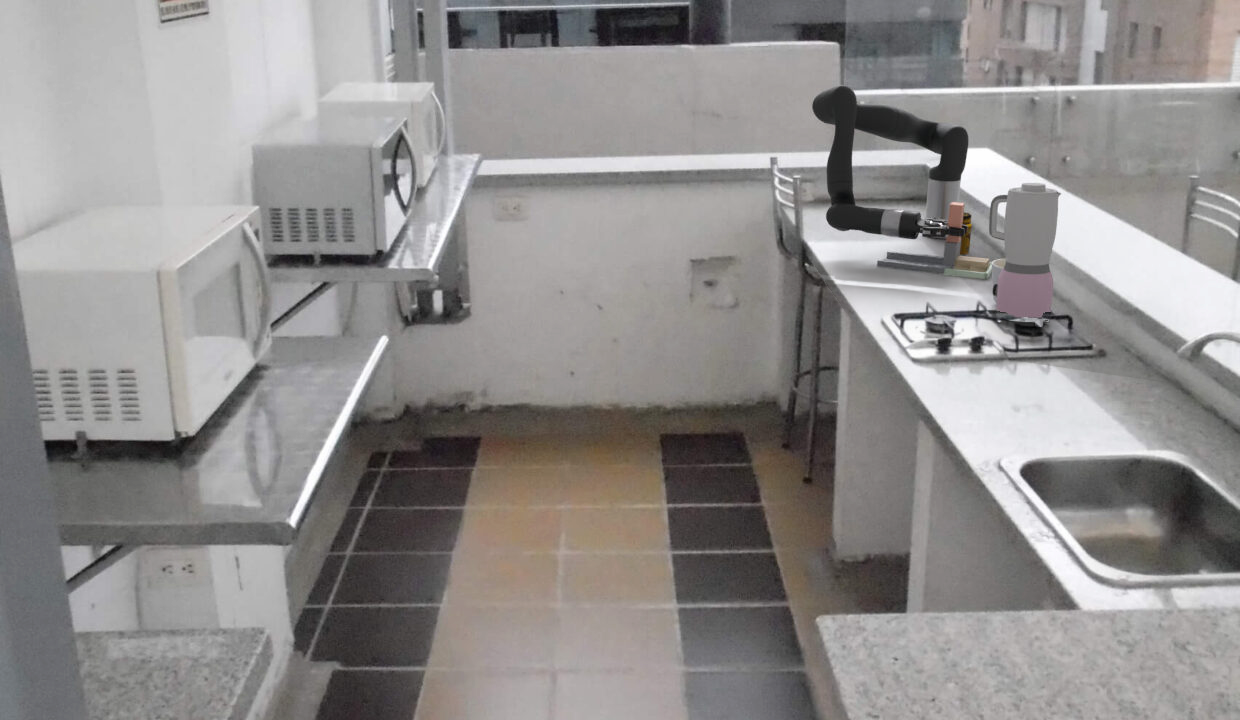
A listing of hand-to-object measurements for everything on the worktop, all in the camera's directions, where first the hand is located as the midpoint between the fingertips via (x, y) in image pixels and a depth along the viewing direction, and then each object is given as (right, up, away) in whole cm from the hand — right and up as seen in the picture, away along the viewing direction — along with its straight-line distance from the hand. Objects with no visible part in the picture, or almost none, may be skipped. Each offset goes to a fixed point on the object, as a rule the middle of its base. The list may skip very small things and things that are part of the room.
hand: (965, 230), depth 313 cm
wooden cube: (0, -11, +3) cm, 11 cm away
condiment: (+4, -5, +22) cm, 23 cm away
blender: (+1, -25, -36) cm, 44 cm away
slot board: (-11, -9, +9) cm, 17 cm away
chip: (+4, -11, +2) cm, 12 cm away
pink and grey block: (-3, -8, +4) cm, 9 cm away
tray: (+2, -11, +3) cm, 12 cm away
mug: (+6, -21, -23) cm, 31 cm away
